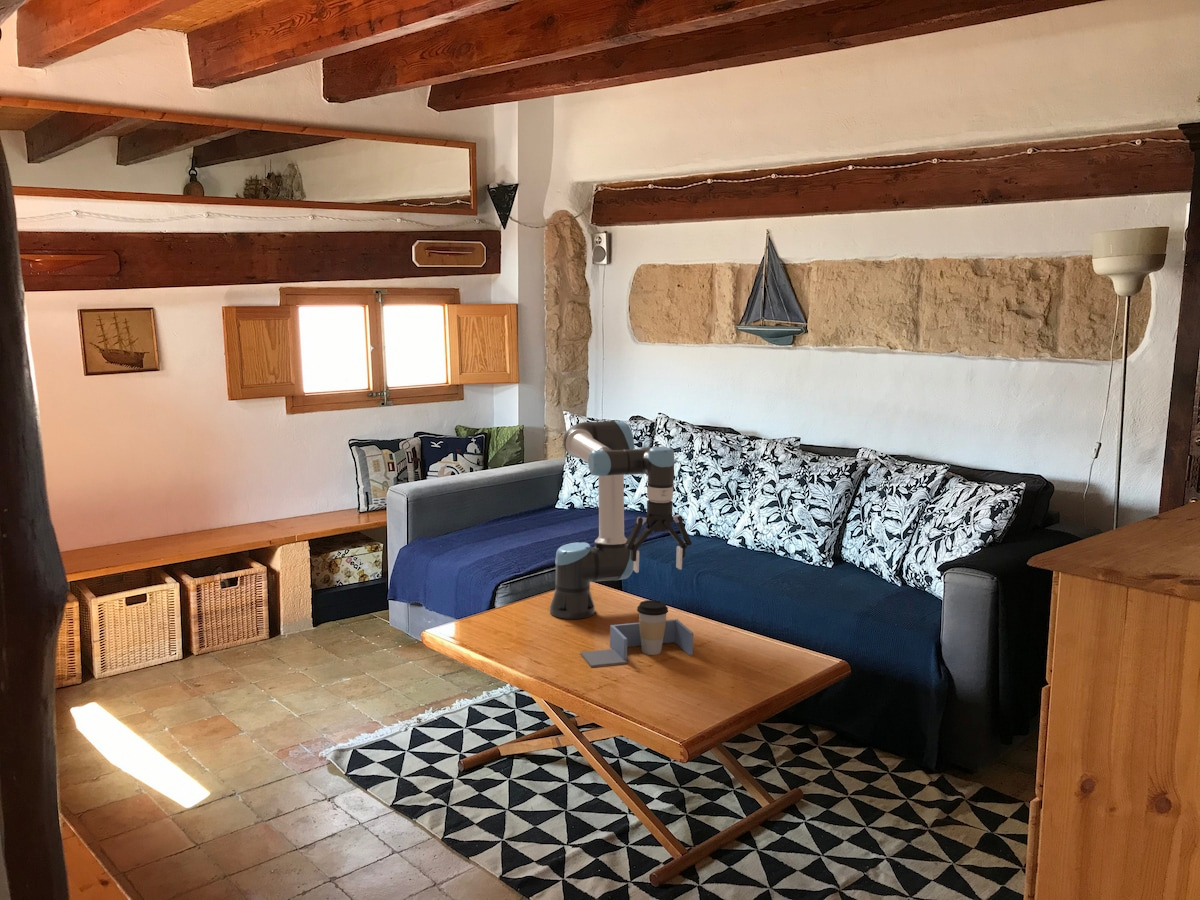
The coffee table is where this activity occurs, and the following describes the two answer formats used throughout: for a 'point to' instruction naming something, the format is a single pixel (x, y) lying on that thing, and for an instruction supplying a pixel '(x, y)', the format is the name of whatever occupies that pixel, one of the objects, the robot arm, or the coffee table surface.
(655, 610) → the coffee cup
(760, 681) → the coffee table surface
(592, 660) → the coaster
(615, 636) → the grey u-shaped wall
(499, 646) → the coffee table surface
